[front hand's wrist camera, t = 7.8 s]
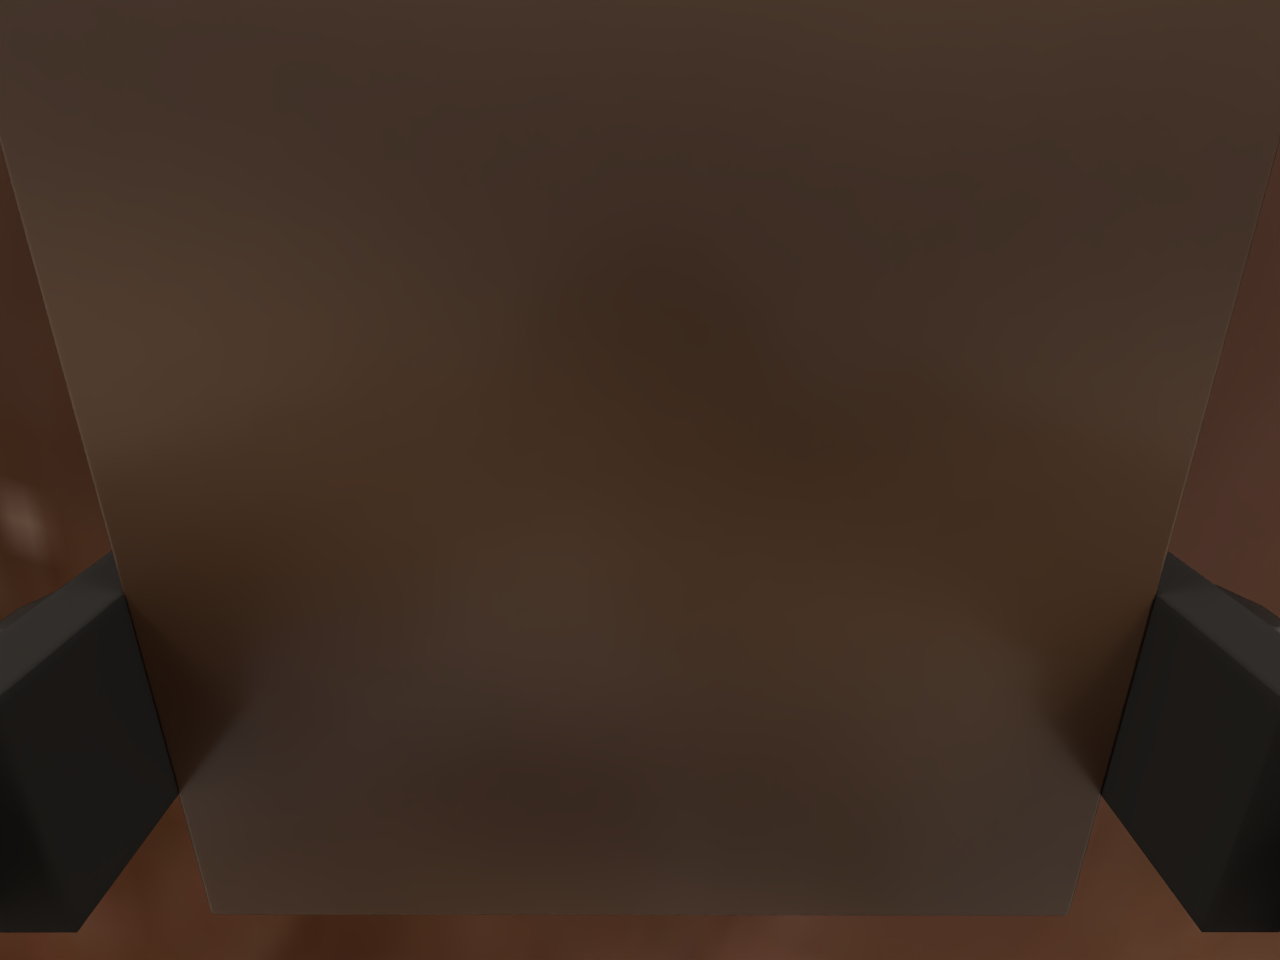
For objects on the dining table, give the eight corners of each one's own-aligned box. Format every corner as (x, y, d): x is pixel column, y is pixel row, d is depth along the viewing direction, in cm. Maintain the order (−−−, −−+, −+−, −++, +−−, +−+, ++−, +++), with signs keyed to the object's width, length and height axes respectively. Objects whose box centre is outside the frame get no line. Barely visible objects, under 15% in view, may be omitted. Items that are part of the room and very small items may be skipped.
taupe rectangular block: (292, -485, 12) (-683, -2318, 3) (988, -486, 12) (1961, -2336, 3) (415, 562, 19) (209, 916, 10) (865, 562, 19) (1070, 917, 10)
